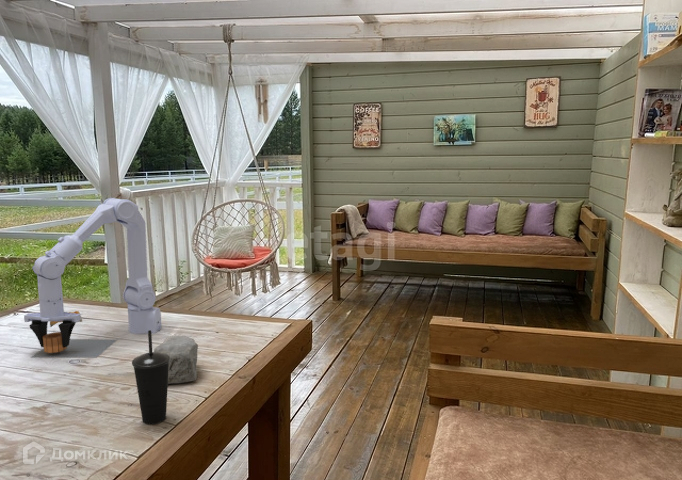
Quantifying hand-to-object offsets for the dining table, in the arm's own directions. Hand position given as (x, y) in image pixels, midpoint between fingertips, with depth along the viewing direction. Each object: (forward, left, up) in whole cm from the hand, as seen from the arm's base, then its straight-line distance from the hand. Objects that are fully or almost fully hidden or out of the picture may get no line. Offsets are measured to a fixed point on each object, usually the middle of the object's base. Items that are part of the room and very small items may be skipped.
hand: (55, 346), depth 142 cm
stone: (-37, +12, -4) cm, 39 cm away
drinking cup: (-39, +34, -4) cm, 52 cm away
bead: (0, 0, -1) cm, 1 cm away
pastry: (+12, -30, -4) cm, 33 cm away
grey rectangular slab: (-4, -3, -3) cm, 6 cm away
